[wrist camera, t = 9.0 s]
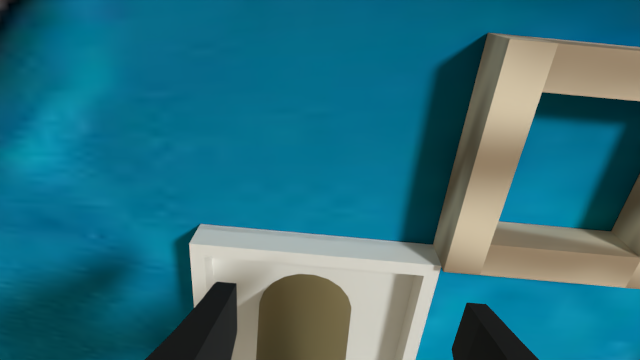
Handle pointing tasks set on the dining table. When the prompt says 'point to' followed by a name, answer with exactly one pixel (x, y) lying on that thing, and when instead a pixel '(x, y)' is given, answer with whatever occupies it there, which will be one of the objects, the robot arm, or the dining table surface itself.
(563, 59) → the frame
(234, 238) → the tray
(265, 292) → the olive tall rounded piece
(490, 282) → the dining table surface
